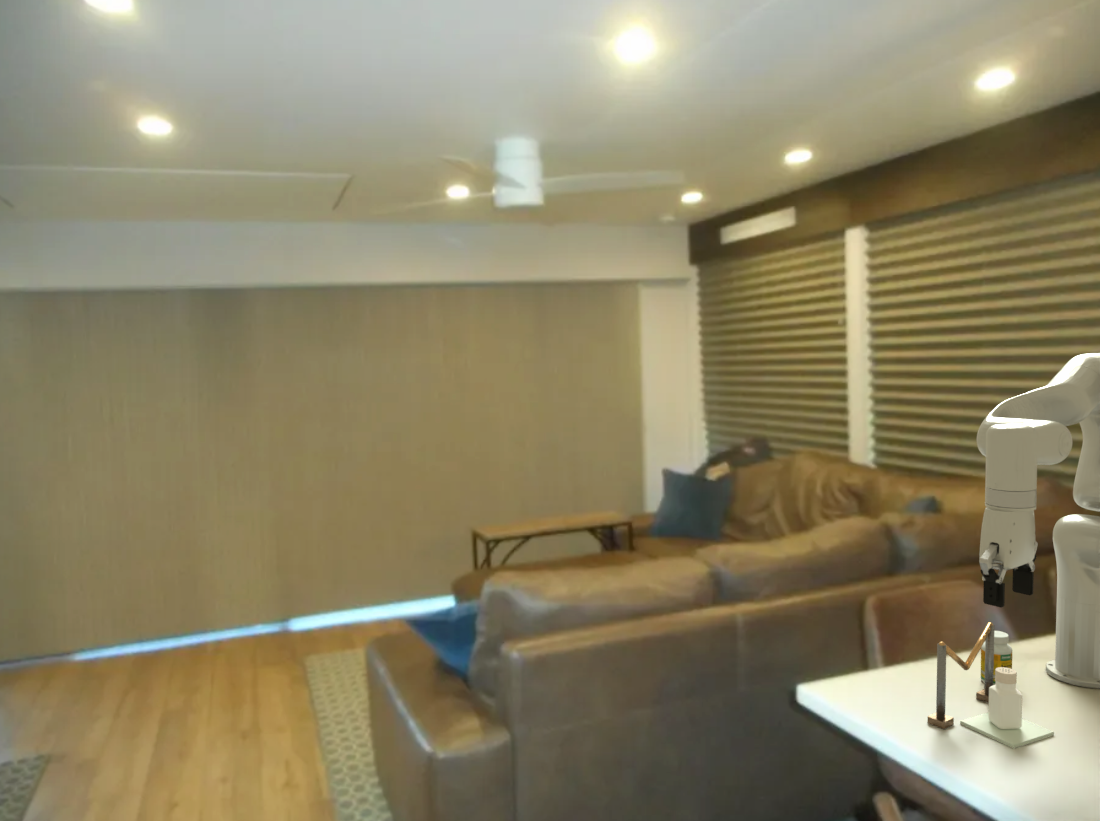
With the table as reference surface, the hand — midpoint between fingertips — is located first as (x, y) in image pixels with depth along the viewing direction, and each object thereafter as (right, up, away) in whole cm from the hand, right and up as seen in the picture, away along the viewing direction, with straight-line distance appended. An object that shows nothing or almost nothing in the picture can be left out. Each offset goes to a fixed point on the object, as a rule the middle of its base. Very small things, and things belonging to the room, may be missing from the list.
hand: (1008, 599), depth 143 cm
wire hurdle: (-3, -22, +8) cm, 24 cm away
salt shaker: (0, -22, +2) cm, 22 cm away
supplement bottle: (+9, -21, +21) cm, 31 cm away
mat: (0, -22, +1) cm, 22 cm away
